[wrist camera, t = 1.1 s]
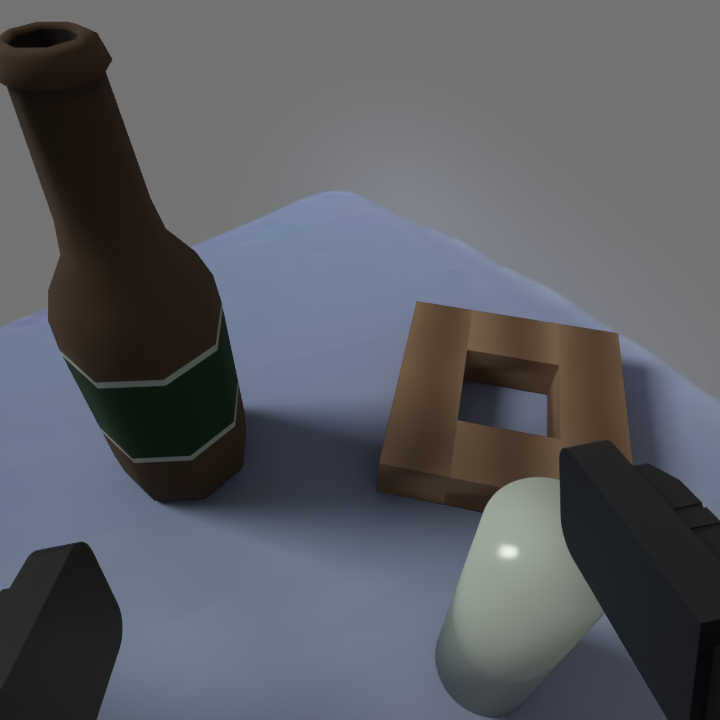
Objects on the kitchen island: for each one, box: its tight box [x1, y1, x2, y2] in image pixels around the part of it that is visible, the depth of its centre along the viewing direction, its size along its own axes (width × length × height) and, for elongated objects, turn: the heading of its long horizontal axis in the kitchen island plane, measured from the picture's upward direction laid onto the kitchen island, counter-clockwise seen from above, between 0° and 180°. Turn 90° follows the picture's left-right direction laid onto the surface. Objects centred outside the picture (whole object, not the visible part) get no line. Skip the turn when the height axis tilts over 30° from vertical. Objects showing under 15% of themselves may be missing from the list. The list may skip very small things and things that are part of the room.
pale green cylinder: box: [435, 477, 604, 717], centre depth 24 cm, size 5×5×13 cm
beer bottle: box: [0, 22, 246, 501], centre depth 28 cm, size 8×8×24 cm
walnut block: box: [377, 301, 633, 512], centre depth 37 cm, size 14×14×3 cm
